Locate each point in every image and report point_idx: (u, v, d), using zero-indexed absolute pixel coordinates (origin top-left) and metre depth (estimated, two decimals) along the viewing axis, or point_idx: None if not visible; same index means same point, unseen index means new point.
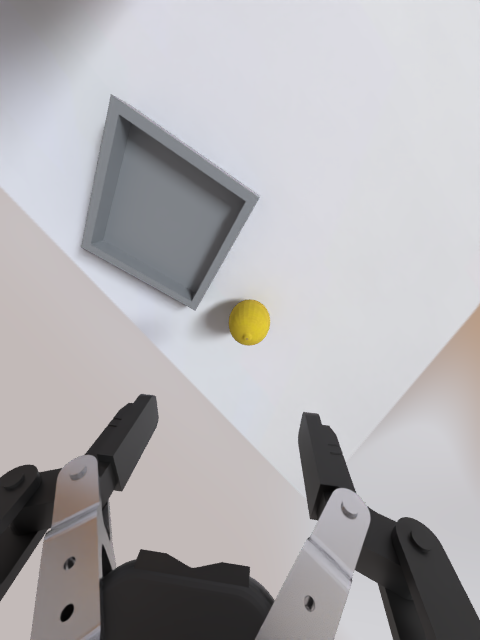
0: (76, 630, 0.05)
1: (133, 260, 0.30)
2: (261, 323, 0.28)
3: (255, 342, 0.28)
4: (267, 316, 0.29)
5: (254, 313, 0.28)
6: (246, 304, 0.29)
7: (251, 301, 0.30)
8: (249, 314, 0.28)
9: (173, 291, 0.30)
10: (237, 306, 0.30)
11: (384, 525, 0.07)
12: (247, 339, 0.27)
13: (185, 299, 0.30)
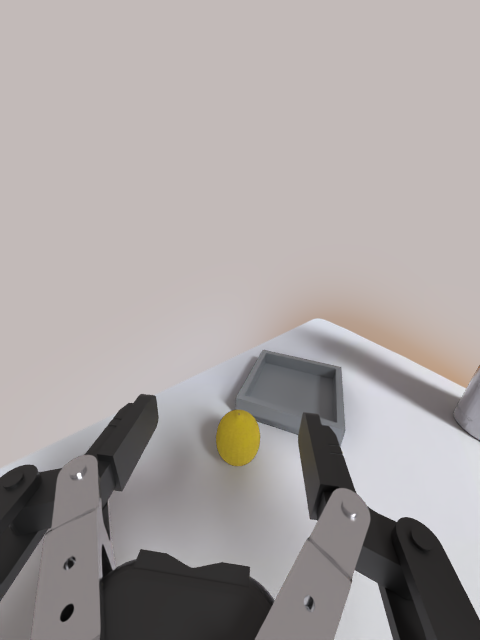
0: (76, 631, 0.05)
1: (259, 372, 0.45)
2: (252, 433, 0.26)
3: (230, 427, 0.26)
4: (252, 449, 0.27)
5: (258, 430, 0.28)
6: None
7: None
8: (257, 424, 0.28)
9: (249, 385, 0.39)
10: None
11: (384, 525, 0.07)
12: (238, 414, 0.27)
13: (244, 391, 0.37)
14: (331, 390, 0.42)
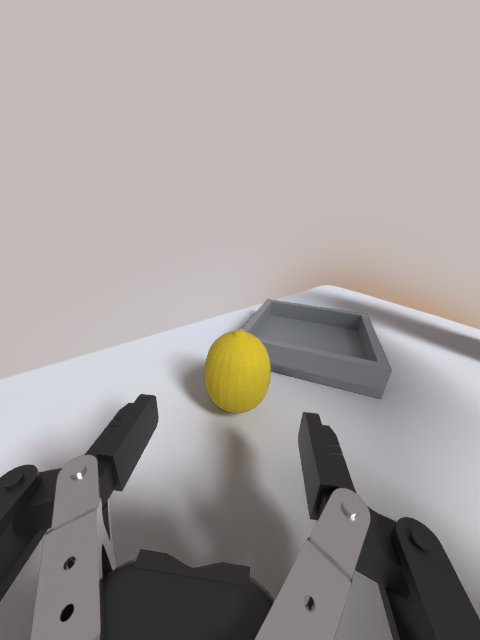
0: (75, 631, 0.05)
1: (264, 320, 0.36)
2: (260, 357, 0.17)
3: (226, 347, 0.17)
4: (260, 383, 0.17)
5: (268, 357, 0.18)
6: None
7: None
8: (266, 350, 0.19)
9: (251, 326, 0.29)
10: None
11: (384, 525, 0.07)
12: (238, 330, 0.17)
13: (246, 331, 0.28)
14: (357, 339, 0.33)
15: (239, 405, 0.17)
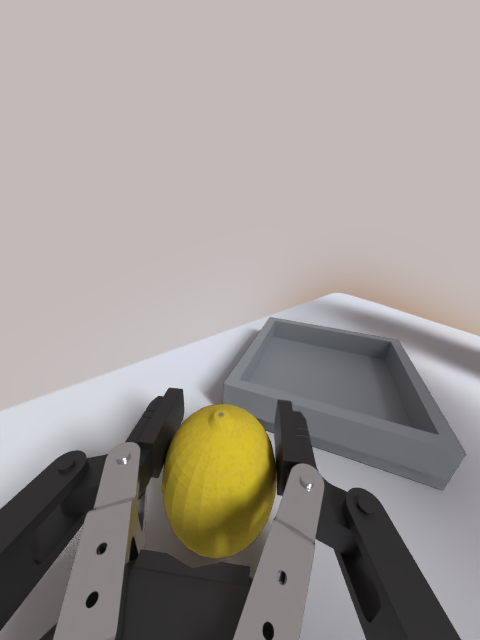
0: (96, 622, 0.05)
1: (265, 347, 0.28)
2: (259, 470, 0.09)
3: (195, 453, 0.09)
4: (258, 517, 0.09)
5: (273, 457, 0.10)
6: None
7: None
8: (269, 441, 0.11)
9: (248, 363, 0.21)
10: None
11: (338, 496, 0.08)
12: (219, 415, 0.10)
13: (240, 373, 0.20)
14: (388, 376, 0.25)
15: (220, 556, 0.09)
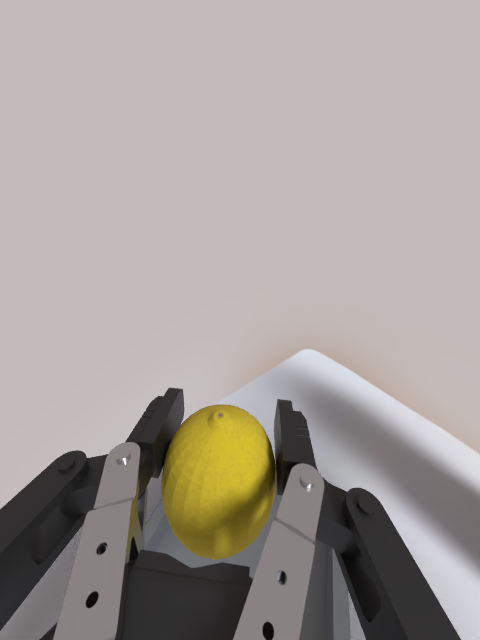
0: (96, 622, 0.05)
1: None
2: (258, 471, 0.09)
3: (195, 454, 0.09)
4: (258, 518, 0.09)
5: (272, 458, 0.10)
6: None
7: None
8: (269, 442, 0.11)
9: None
10: None
11: (338, 495, 0.08)
12: (218, 416, 0.10)
13: None
14: (322, 556, 0.20)
15: (219, 557, 0.09)
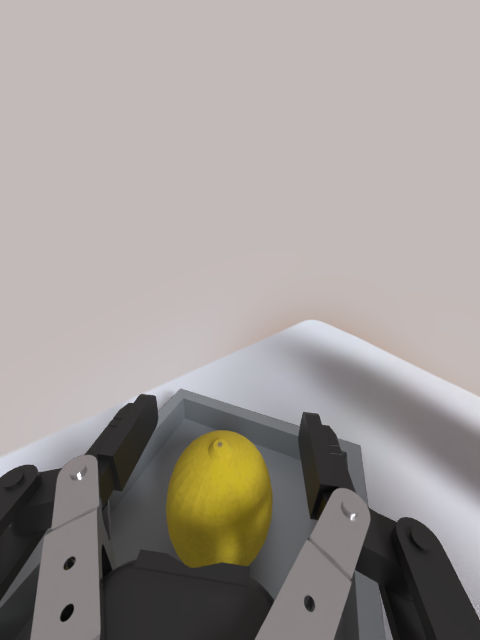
0: (76, 631, 0.05)
1: (150, 455, 0.18)
2: (255, 497, 0.10)
3: (196, 482, 0.10)
4: (255, 541, 0.10)
5: (268, 483, 0.11)
6: None
7: None
8: (266, 467, 0.12)
9: None
10: None
11: (384, 525, 0.07)
12: (218, 445, 0.11)
13: (2, 599, 0.10)
14: None
15: None
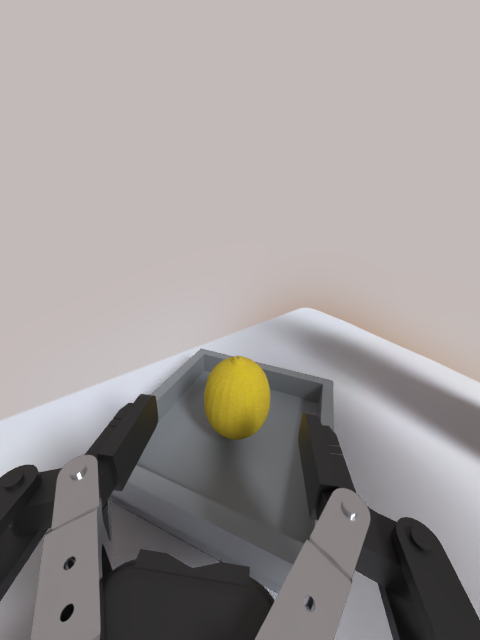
0: (76, 630, 0.05)
1: (183, 389, 0.25)
2: (259, 385, 0.17)
3: (225, 376, 0.17)
4: (260, 411, 0.17)
5: (267, 383, 0.18)
6: None
7: None
8: None
9: None
10: None
11: (384, 525, 0.07)
12: (237, 358, 0.17)
13: None
14: None
15: (239, 433, 0.17)
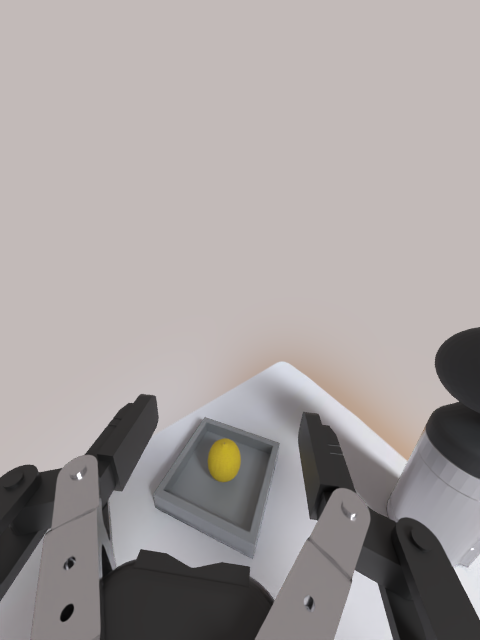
0: (76, 631, 0.05)
1: (195, 447, 0.44)
2: (234, 457, 0.36)
3: (218, 454, 0.36)
4: (234, 470, 0.36)
5: (239, 454, 0.37)
6: None
7: None
8: (238, 450, 0.38)
9: (173, 473, 0.37)
10: None
11: (384, 525, 0.07)
12: (224, 443, 0.36)
13: (165, 484, 0.35)
14: (265, 472, 0.40)
15: (224, 480, 0.36)
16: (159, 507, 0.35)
